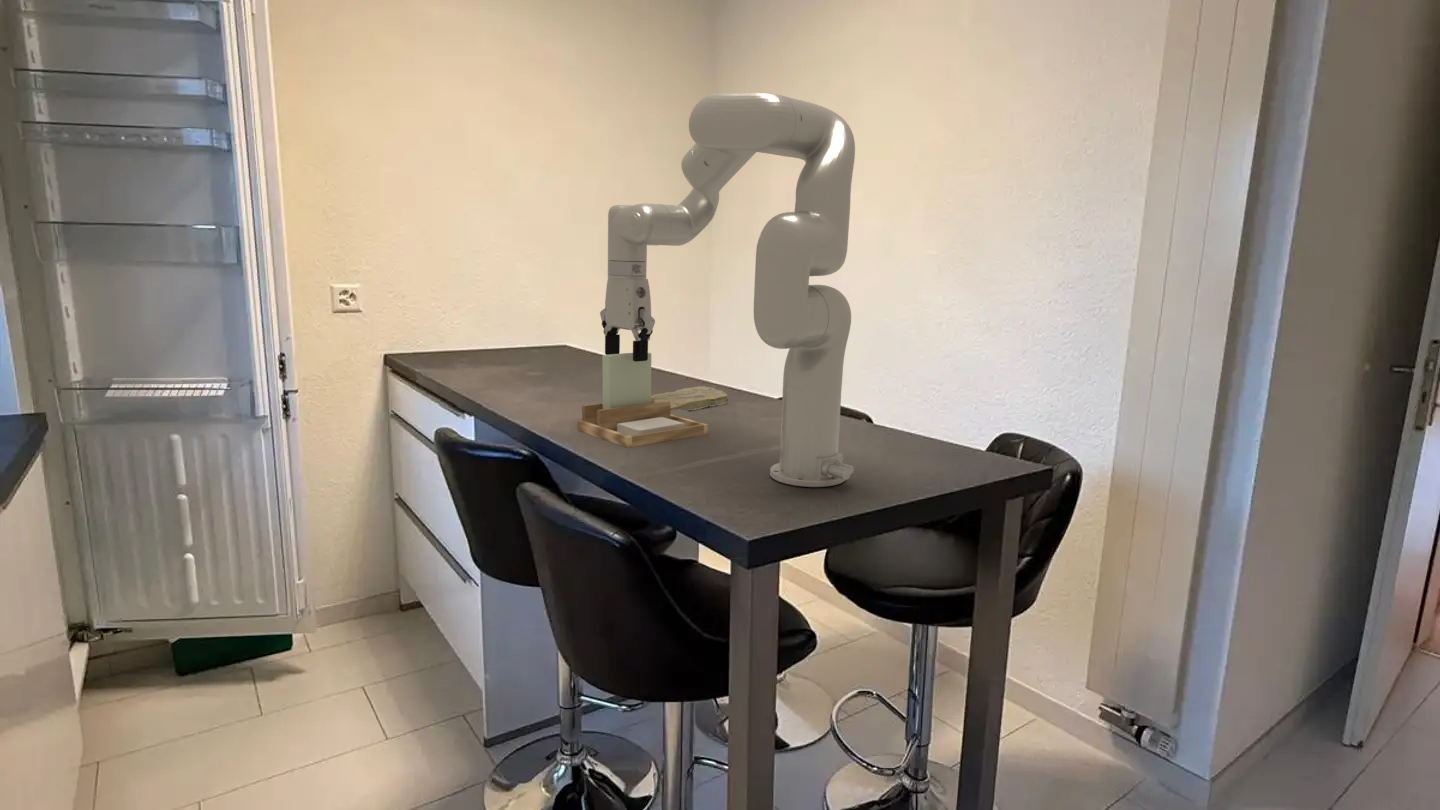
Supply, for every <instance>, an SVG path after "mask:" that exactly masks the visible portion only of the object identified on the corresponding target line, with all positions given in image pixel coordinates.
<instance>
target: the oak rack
mask: <svg viewBox="0 0 1440 810" xmlns="http://www.w3.org/2000/svg"><path fill="white" fill-rule="evenodd" d="M670 407H671V401H661V402H655V397H651V403H646V404H639V405H631V406H623V407H616V408H608V409H603V402H598V403H597V402H596V403H591V404H590V403H589V404H584V405H583V404H582V405H581V420H577V431H578V432H580V433H584V434H587V435H590V436H593V437H596V438H599V439H600V440H601V439H602V440H605V441H607V442H610V443H613V444H615V445H617V446H621V447H624V448H627V449H628V448H629V449H630V448H635V447H640V446H641V447H643V446H646V445H652V444H658V443H664V442H670V441H676V440H681V439H688V438H693V437H698V436H705V435H709V434H708V429H709V428H708V426H709V425H708V424H707V423H703V422H700V421H697V420H694V419H693V420H692V419H690V418H685V417H681V416H678V415H675V414H671V410H670ZM658 417H664V418H667V419H671V420H675V421H678V422H682V423H684V427H681V428H675V429H668V430H662V431H656V432H650V433H644V434H637V435H631V436H628V435H625V434H622V433H619V432H617V424H619V423H625V422H632V421H638V420H645V419H651V418H658Z"/></svg>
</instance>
